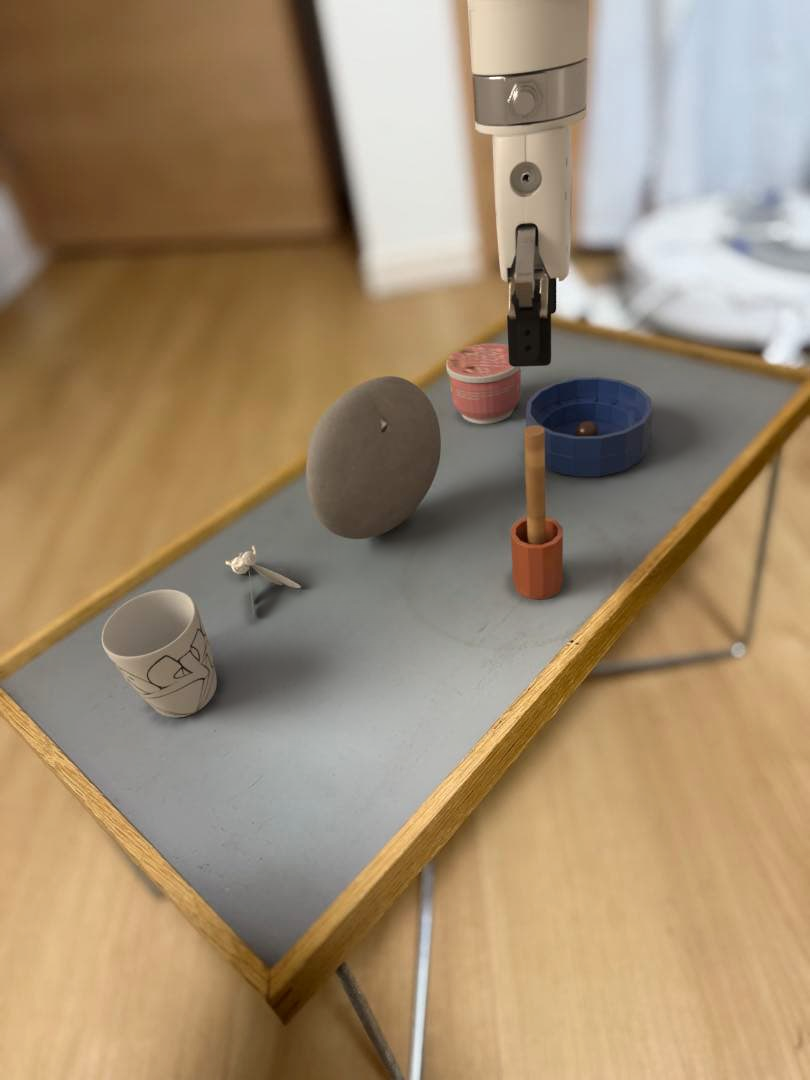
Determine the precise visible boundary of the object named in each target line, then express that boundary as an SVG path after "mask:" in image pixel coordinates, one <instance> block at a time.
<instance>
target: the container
mask: <svg viewBox="0 0 810 1080" xmlns="http://www.w3.org/2000/svg"><path fill="white" fill-rule="evenodd" d="M445 365H446V366H445V367H446V372H447V374H448V377H449V385H450V390H451V391H450V392H451V397H452V403H453V404H454V406H455V407H456V410H457V411H458V412H459V414H461V416H462V418H463V419H464V420H465V421H467V422H469V423H473V424H481V425H487V424H495V423H499V422H501V421H504V420H506V419H507V418H509V417H510V416H511V415H512V414H513V412H514V411H515V410H514V409H515V408H516V407H517V405H518V403H519V401H520V398H521V382H522V381H521V380H522V378H521V377H522V369H521V367H513V366H511V365H510V364H509V351H508V344H503V343H496V342H495V343H493V342H491V343H479V344H473V345H470V346H466V347H464V348H461V349H458V350H457V351H455V352H454V353H452V354H451V355H450V356H449V357H448V358H447V359H446V363H445Z"/></svg>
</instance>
